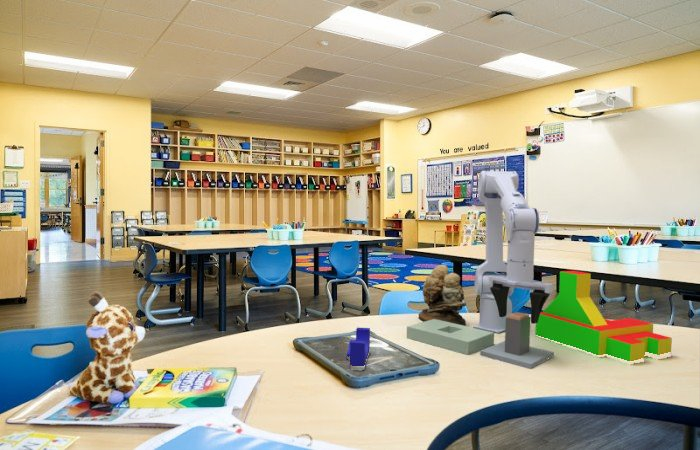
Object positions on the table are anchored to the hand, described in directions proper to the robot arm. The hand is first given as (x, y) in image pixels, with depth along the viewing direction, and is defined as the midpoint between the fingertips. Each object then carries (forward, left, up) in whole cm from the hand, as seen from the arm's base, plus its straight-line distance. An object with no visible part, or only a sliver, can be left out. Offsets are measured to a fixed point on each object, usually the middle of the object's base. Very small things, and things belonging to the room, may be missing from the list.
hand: (518, 319), depth 108 cm
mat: (0, 0, -8) cm, 8 cm away
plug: (0, 0, -7) cm, 7 cm away
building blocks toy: (-24, +11, -9) cm, 28 cm away
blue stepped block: (+30, -22, -9) cm, 39 cm away
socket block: (+2, -17, -8) cm, 19 cm away
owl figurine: (-14, -30, -9) cm, 34 cm away
